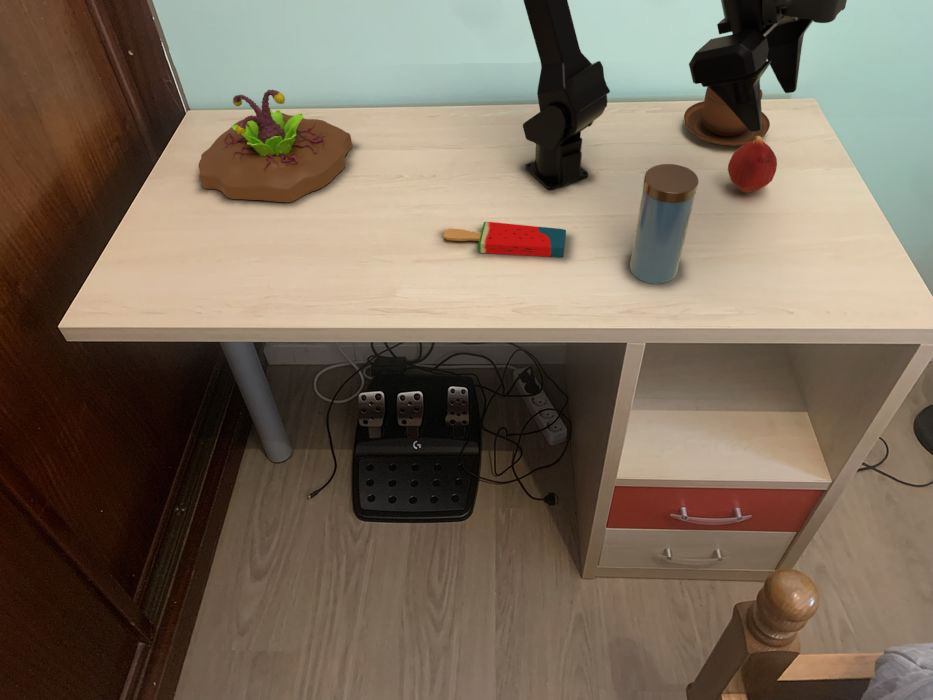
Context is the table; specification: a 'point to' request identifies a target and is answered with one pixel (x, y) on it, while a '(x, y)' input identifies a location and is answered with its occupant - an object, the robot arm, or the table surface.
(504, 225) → the popsicle
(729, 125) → the cup and saucer
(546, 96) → the robot arm
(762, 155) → the onion
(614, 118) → the table surface
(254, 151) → the plant
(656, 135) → the table surface
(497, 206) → the table surface
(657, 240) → the spice jar
